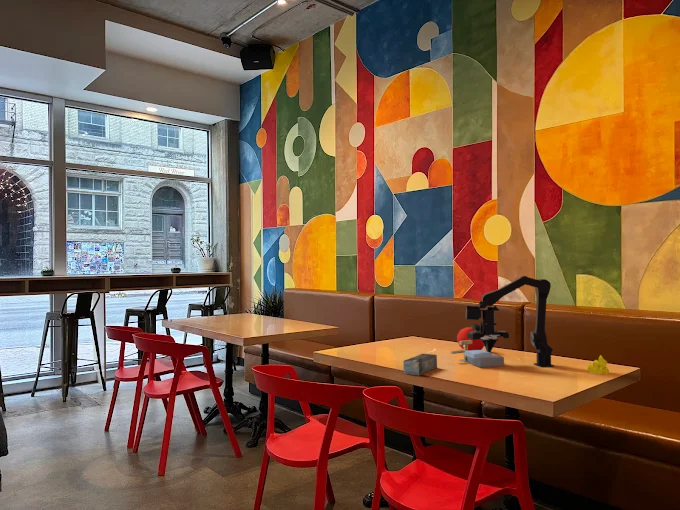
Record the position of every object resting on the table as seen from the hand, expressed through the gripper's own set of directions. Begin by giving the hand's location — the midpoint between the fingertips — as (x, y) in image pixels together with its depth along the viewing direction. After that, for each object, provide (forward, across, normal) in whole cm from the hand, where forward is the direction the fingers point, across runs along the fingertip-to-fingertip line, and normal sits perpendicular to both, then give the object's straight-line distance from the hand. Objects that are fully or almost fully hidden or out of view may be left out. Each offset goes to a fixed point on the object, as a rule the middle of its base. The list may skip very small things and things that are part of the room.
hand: (488, 353), depth 241 cm
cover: (+1, +5, 0) cm, 5 cm away
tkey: (+5, +9, -10) cm, 14 cm away
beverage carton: (+6, +36, +5) cm, 37 cm away
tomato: (+5, -8, -33) cm, 34 cm away
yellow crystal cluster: (+5, -37, +27) cm, 46 cm away
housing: (+5, +2, -4) cm, 7 cm away
